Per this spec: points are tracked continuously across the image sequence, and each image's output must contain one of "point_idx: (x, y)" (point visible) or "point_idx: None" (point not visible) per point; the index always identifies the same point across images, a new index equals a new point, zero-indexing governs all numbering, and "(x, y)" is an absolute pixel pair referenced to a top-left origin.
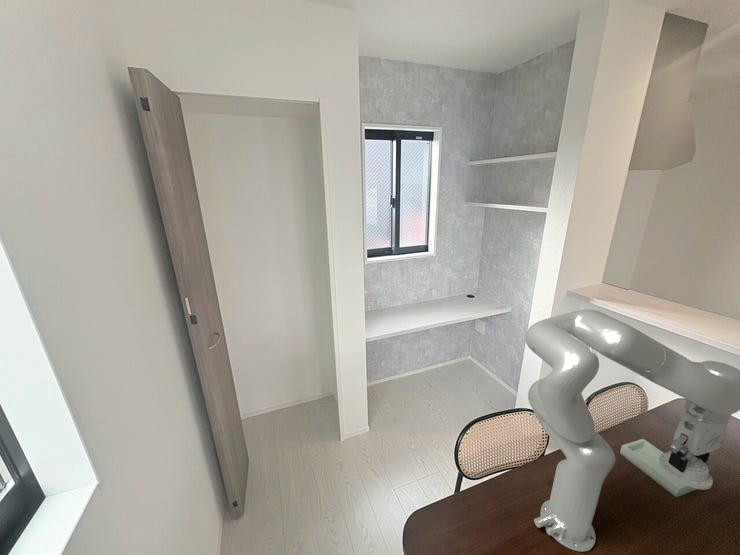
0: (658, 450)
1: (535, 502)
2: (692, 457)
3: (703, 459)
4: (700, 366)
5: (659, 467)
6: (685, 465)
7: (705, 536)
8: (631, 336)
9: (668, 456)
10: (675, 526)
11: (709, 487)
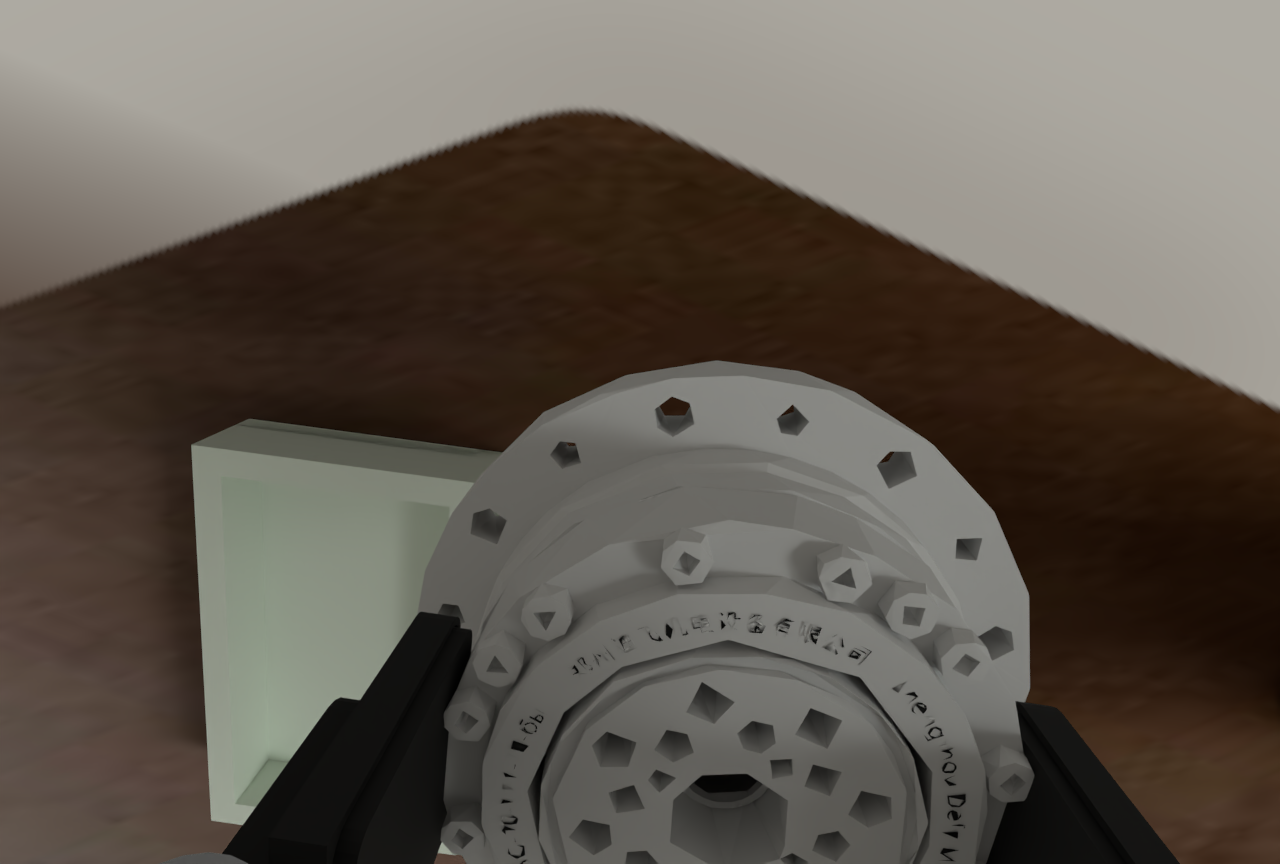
0: (220, 718)
1: None
2: (571, 815)
3: (438, 718)
4: None
5: (351, 624)
6: (1159, 848)
7: (668, 222)
8: None
9: None
10: (779, 347)
11: (746, 368)
